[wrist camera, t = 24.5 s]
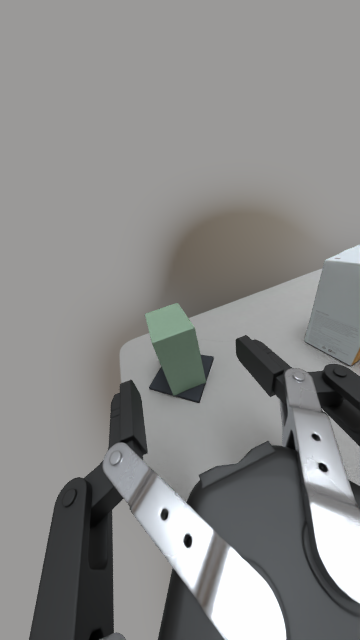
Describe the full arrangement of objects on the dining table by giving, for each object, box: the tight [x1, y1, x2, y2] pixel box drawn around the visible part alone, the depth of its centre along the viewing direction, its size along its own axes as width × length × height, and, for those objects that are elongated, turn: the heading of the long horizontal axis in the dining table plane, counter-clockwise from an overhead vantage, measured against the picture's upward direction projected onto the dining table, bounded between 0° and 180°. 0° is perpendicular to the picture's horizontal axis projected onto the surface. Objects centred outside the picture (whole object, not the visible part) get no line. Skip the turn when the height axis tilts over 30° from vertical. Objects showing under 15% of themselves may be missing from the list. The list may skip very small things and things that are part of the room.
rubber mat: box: [149, 355, 213, 403], centre depth 27 cm, size 8×8×1 cm
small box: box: [304, 245, 360, 366], centre depth 22 cm, size 8×6×13 cm
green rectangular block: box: [145, 303, 206, 395], centre depth 24 cm, size 7×5×10 cm
